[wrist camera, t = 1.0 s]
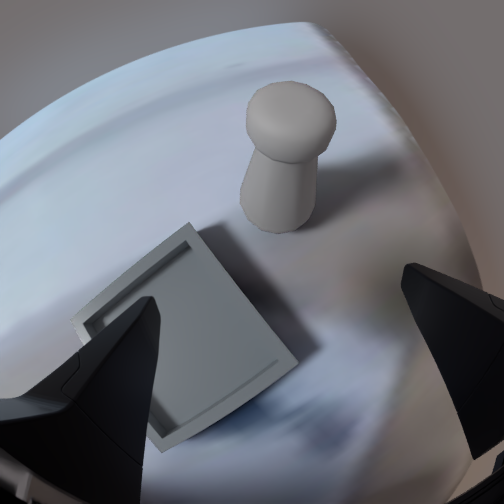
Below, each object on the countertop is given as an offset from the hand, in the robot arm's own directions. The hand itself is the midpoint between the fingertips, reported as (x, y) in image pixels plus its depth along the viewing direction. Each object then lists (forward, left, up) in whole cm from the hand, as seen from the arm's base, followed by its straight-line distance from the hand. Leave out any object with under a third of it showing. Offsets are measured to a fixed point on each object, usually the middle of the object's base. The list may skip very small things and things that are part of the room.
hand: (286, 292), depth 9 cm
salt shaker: (+6, -6, -13) cm, 16 cm away
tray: (+2, +7, -13) cm, 15 cm away
